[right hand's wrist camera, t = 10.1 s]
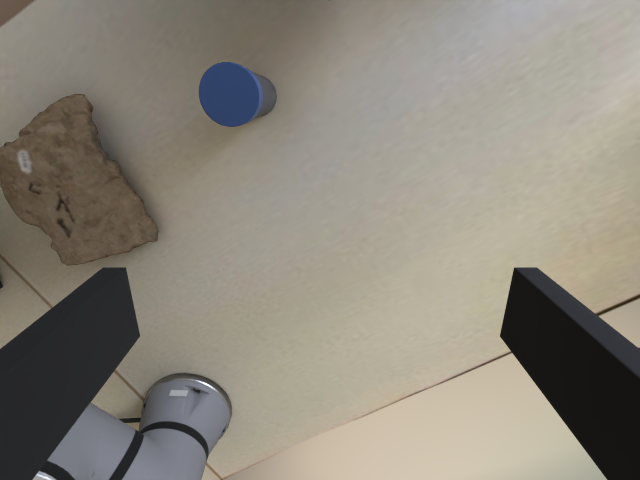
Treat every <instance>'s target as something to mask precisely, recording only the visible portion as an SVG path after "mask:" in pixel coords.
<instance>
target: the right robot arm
mask: <svg viewBox="0 0 640 480" xmlns="http://www.w3.org/2000/svg"><path fill="white" fill-rule="evenodd" d="M139 337H140V334H139V329H138V324H137V319H136V314H135V310H134V305H133V300H132V295H131V290H130V286H129V281H128V276H127V271H126V268H102V269H101V270H100V271H98V272H97V273H96V274H94V275H93V276H92V277H91V278H89V279H88V280H87V281H86V282H84V283H83V284H82V285H81V286H79V287H78V288H77V289H76V290H74V291H73V292H72V293H71V294H69V295H68V296H67V297H66V298H64V299H63V300H62V301H60V302H59V303H58V304H57V305H55V306H54V307H53V308H52V309H50V310H49V311H48V312H47V313H45V314H44V315H43V316H42V317H40V318H39V319H38V320H37V321H35V322H34V323H33V324H31V325H30V326H29V327H28V328H26V329H25V330H24V331H23V332H21V333H20V334H19V335H18V336H16V337H15V338H14V339H13V340H11V341H10V342H9V343H8V344H6V345H5V346H4V347H2V348H1V349H0V480H201V478H202V475H203V472H204V468H205V465H206V462H207V458H208V455H209V454H210V452H211V451H212V449H213V448H214V447H215V445H216V444H217V442H218V440H219V439H220V438H221V437H222V436H223V434H224V433H225V431H226V429H227V428H228V425H229V422H230V418H231V414H232V407H231V402H230V400H229V397H228V396H227V394H226V393H225V391H224V390H223V389H222V388H221V387H220V386H219V385H217V384H216V383H215V382H213V381H211V380H209V379H207V378H205V377H202V376H199V375H195V374H186V373H183V374H174V375H170V376H167V377H164V378H162V379H160V380H159V381H157V382H156V383H155V384H154V385H153V386H152V387H151V389H150V390H149V392H148V394H147V395H146V397H145V399H144V402H143V406H142V416H141V418H126V419H117V418H115V417H114V416H112V415H110V414H109V413H107V412H105V411H104V410H102V409H100V408H99V407H97V406H95V405H94V404H92V403H90V402H91V401H92V400H93V398H94V397H95V396H96V394H97V393H98V392H99V390H100V389H101V388H102V386H103V385H104V384H105V382H106V381H107V380H108V378H109V377H110V376H111V374H112V373H113V372H114V370H115V369H116V368H117V366H118V365H119V364H120V362H121V361H122V360H123V358H124V357H125V356H126V354H127V353H128V352H129V350H130V349H131V348H132V346H133V345H134V344H135V342H136V341H137V339H138V338H139ZM500 337H501V338H502V339H503V341H504V342H505V344H506V345H507V346H508V348H509V349H510V350H511V352H512V353H513V354H514V355H515V357H516V358H517V360H518V361H519V362H520V364H521V365H522V366H523V368H524V369H525V370H526V371H527V373H528V374H529V376H530V377H531V378H532V380H533V381H534V382H535V384H536V385H537V386H538V388H539V389H540V390H541V392H542V393H543V394H544V396H545V397H546V398H547V400H548V401H549V402H550V404H551V405H552V406H553V408H554V409H555V410H556V412H557V413H558V414H559V416H560V417H561V418H562V420H563V421H564V422H565V424H566V425H567V426H568V428H569V429H570V430H571V432H572V433H573V434H574V436H575V437H576V438H577V440H578V441H579V442H580V444H581V445H582V446H583V448H584V449H585V450H586V452H587V453H588V454H589V456H590V457H591V458H592V460H593V461H594V462H595V464H596V465H597V466H598V468H599V469H600V470H601V472H602V473H603V475H604V476H605V477H606V478H607V480H640V348H638V347H636V346H635V345H634V344H632V343H631V342H630V341H629V340H627V339H626V338H625V337H624V336H622V335H621V334H620V333H619V332H617V331H616V330H615V329H613V328H612V327H611V326H610V325H609V324H607V323H606V322H605V321H603V320H602V319H601V318H600V317H598V316H597V315H596V314H595V313H593V312H592V311H591V310H590V309H588V308H587V307H586V306H585V305H583V304H582V303H581V302H580V301H578V300H577V299H576V298H574V297H573V296H572V295H571V294H569V293H568V292H567V291H566V290H564V289H563V288H562V287H561V286H559V285H558V284H557V283H556V282H554V281H553V280H552V279H551V278H549V277H548V276H547V275H546V274H544V273H543V272H542V271H540V270H539V269H538V268H514V271H513V276H512V281H511V286H510V290H509V295H508V300H507V305H506V310H505V314H504V319H503V324H502V329H501V334H500ZM134 422H140V426H139V431H137V430H135V429H134V428H132V427H130V426H129V425H127V424H125V423H134Z"/></svg>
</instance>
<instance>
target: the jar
mask: <svg viewBox="0 0 640 480" xmlns="http://www.w3.org/2000/svg"><path fill="white" fill-rule="evenodd" d="M252 73H253V72H252ZM253 74H254V75H255V76H256V78H257V79H258V81H259V83H260V85H261V88H262V92H263V102H262V106H261V109H260V111H259V113H258V114H257V116H256V117H255V118H257V117H260V116H263V115H266V114H268V113H269V112H270V111H271V110H272V109H273V107H274V106H275V103H276V91H275V88H274V86H273V84H272V83H271V82H270V81H269V80H268V79H267V78H265V77H263V76H261V75H258V74H256V73H253Z"/></svg>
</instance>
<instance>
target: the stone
mask: <svg viewBox="0 0 640 480" xmlns="http://www.w3.org/2000/svg"><path fill="white" fill-rule="evenodd" d="M92 111H93V106H92V105H91V104H90V102H89V101H88V100H87V98H86V96H85V95H81V94H74V95H71V96H67V97H64V98H62V99H60V100H59V101H57V102H55V103H53V104H52V105H50V106H49V107H48V108H47V109H46V110H45V111H43V112H41V113H39V114H38V115H37V116H36V117H34V119H33V120H32V122H31V123H30V124H29V125H27V126H26V127H25V128H23V129H22V130H20V132H19V138H18V139H16V140H15V141H14V142H12V143H11V142H6V143H5V145H4V146H2V147H1V148H0V181H1V183H0V186H1V187H2V189H3V193H4V196H5V197H6V199H7V201H8V203H9V204H10V206H11V208H12V209H13V211H14V212H15V214H16V215H18V216H19V217H20V218H21V219H22V220H23V221H24V222H25V223H28V224H30V225H35V226H38V227H39V228H41V229H42V230H43V231H44V232H45V233H47V234H48V235H50V236H51V238H52V244H51V247H52V248H53V249H54V250H56V252H57V253H58V255H59V256H60V259H61V262H62V263H63V264H65V265H78V264H82V263H87V262H92V261H94V260H96V259H100V258H105V257H108V256H110V255H115V254H120V253H125V252H130V251H131V250H132V249H133V248H135V247H138V246H140V245H142V244H145V243H147V242H156V241H157V240H158V228H157V226H156V224H155V222H154V221H153V220H152V218H151V217H150V216H149V215H148V214H147V213H146V209H145V207H144V202H143V200H142V199H141V198H140V197H139V196H138V195H137V194H136V192H134V191H133V190H132V189H131V187H130V186H129V184H128V181H127V178H126V177H125V176H124V175H123V173H122V171H121V168H120V165H119V163H118V162H117V161H113V160H110V159H109V158H108V155H107V153H106V152H105V151H103V150H102V148H101V144H100V140H99V139H98V138H97V133H98V132H97V128H96V126H95V124H94V123H93V122H92V114H91V112H92Z"/></svg>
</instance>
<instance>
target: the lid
mask: <svg viewBox="0 0 640 480" xmlns="http://www.w3.org/2000/svg"><path fill="white" fill-rule="evenodd" d="M199 98H200V102H201V105H202V107H203V109H204V111H205V112H206V114H207V115H208V116H209V117H210V118H211V119H212V120H214V121H215V122H217V123H218V124H221V125H224V126H228V127H235V126H240V125H243V124H245V123H248V122H250V121H251V120H253V119H254V118H255V117H256V116H257V114H258V113H259V111H260V109H261V106H262V102H263V92H262V88H261V85H260V83H259V81H258V79H257V78H256V76H255V75H254V74H253V73H252V72H251V71H250V70H248V69H247V68H245V67H243V66H240V65H238V64H235V63H231V62H222V63H218V64H216V65H213V66H212V67H210V68H209V69H208V70H207V71H206V72H205V74H204V75H203V77H202V79H201V82H200V86H199Z"/></svg>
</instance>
